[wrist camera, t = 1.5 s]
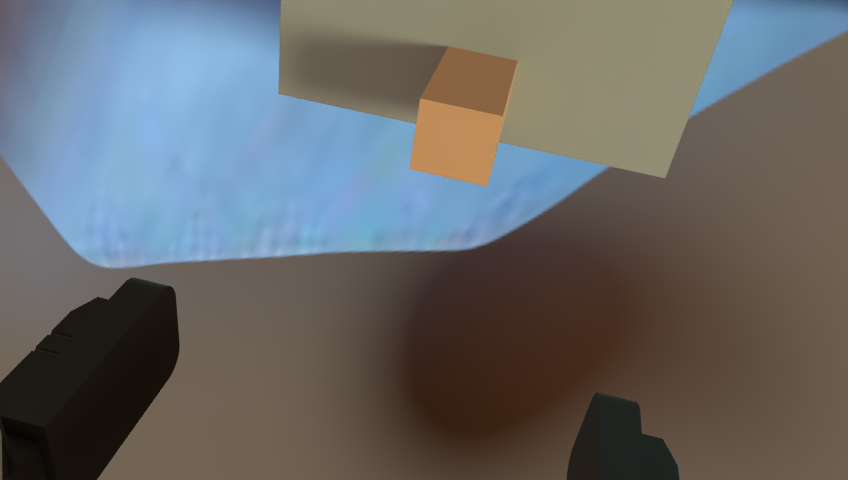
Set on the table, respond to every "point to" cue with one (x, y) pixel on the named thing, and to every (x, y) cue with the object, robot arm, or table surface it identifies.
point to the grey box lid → (509, 74)
